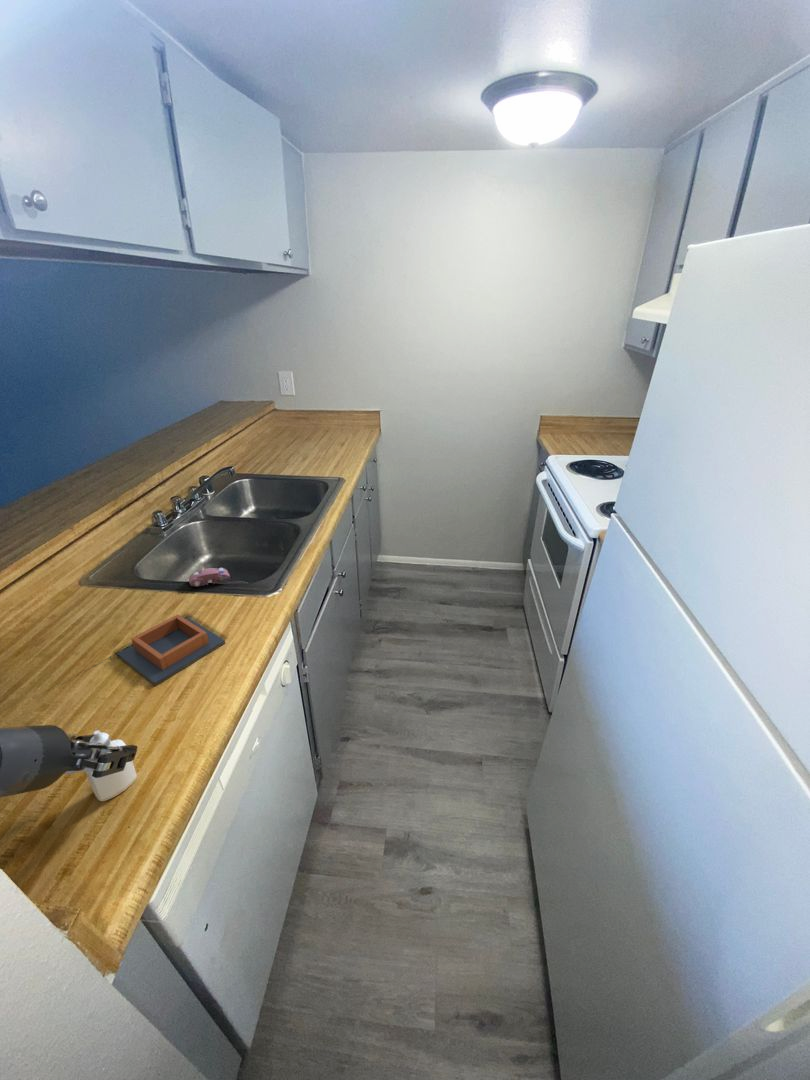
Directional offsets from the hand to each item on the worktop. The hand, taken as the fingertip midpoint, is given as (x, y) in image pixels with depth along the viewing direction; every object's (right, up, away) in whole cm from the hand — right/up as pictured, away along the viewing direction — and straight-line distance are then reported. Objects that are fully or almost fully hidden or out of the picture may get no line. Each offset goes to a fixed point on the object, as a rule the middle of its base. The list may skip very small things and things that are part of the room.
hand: (114, 747), depth 71 cm
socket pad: (-6, +8, +29) cm, 31 cm away
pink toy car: (-7, +19, +52) cm, 56 cm away
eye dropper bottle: (-1, -7, +2) cm, 7 cm away
